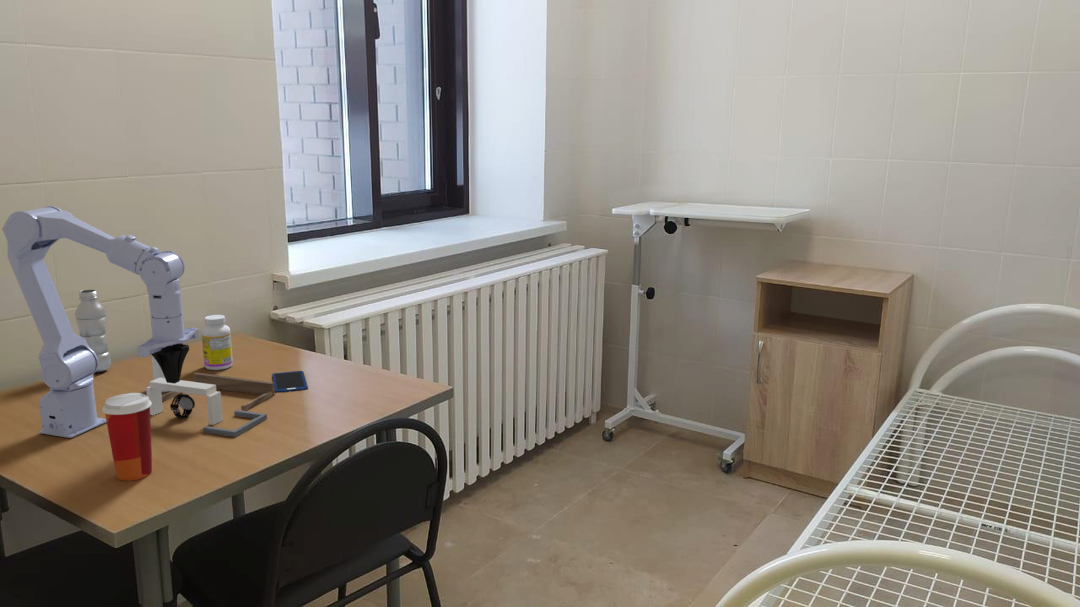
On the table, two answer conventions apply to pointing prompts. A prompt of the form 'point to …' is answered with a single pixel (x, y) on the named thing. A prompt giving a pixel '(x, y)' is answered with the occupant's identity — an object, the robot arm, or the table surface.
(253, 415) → the frame
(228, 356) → the supplement bottle
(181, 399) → the smartwatch
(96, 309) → the plastic bottle
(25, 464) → the table surface
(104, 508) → the table surface
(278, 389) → the cell phone
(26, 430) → the table surface
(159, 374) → the eye dropper bottle
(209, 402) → the clamp arch
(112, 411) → the paper cup
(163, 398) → the track
